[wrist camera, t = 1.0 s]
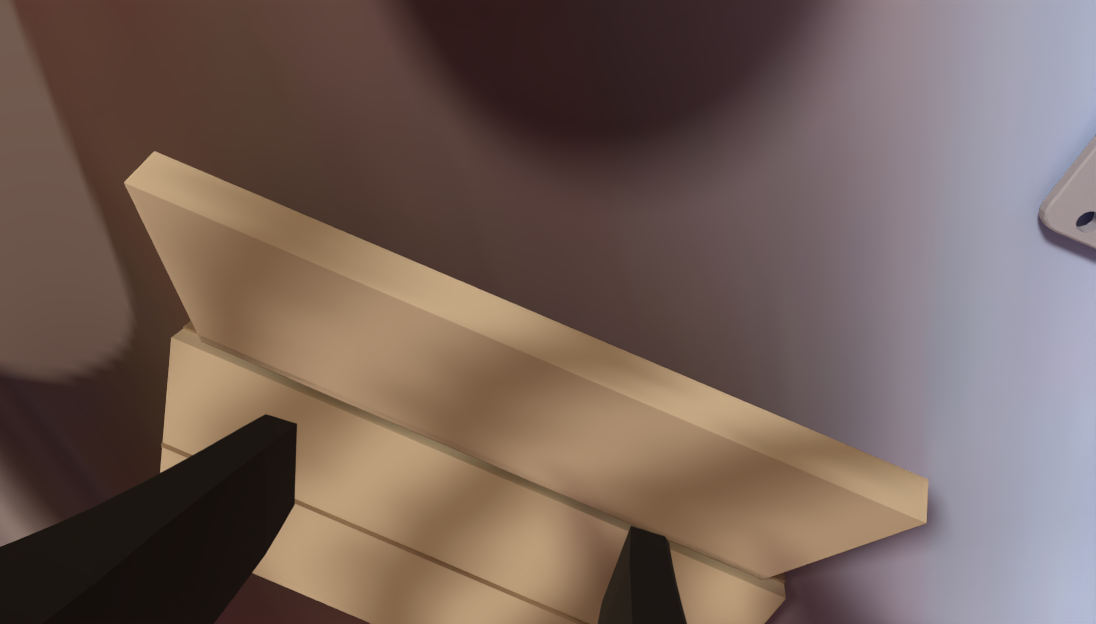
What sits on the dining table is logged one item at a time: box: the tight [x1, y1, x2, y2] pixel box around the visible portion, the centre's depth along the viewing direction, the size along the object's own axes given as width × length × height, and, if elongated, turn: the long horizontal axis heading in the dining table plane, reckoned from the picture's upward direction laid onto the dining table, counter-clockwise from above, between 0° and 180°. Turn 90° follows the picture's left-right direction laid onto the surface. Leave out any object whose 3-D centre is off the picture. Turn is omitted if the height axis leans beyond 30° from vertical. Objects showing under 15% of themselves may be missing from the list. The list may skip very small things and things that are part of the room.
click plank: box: [124, 151, 928, 580], centre depth 19 cm, size 20×8×1 cm, turn 70°
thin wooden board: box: [160, 321, 786, 624], centre depth 26 cm, size 22×10×1 cm, turn 70°
